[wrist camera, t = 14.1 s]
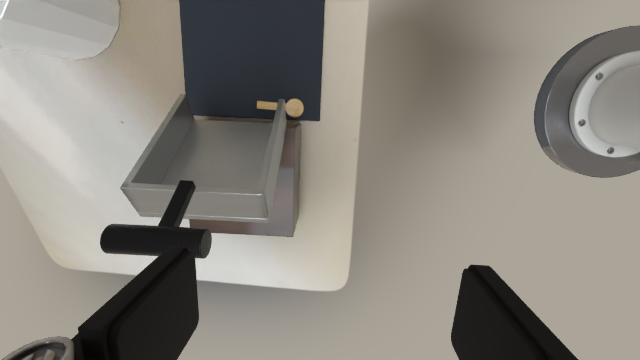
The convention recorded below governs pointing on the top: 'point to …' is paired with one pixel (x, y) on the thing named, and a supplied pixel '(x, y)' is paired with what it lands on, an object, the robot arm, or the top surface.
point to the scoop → (199, 180)
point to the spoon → (291, 107)
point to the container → (59, 26)
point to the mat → (252, 55)
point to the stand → (283, 199)
